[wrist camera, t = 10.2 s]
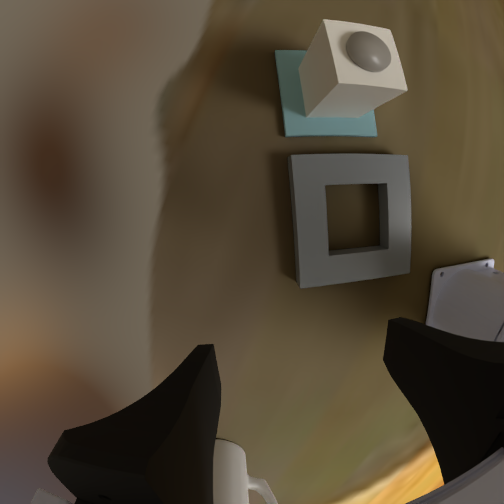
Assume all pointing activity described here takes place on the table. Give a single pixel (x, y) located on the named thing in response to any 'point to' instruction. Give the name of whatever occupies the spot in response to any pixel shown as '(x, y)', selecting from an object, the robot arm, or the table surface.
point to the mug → (235, 476)
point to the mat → (295, 107)
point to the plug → (350, 70)
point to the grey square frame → (315, 217)
